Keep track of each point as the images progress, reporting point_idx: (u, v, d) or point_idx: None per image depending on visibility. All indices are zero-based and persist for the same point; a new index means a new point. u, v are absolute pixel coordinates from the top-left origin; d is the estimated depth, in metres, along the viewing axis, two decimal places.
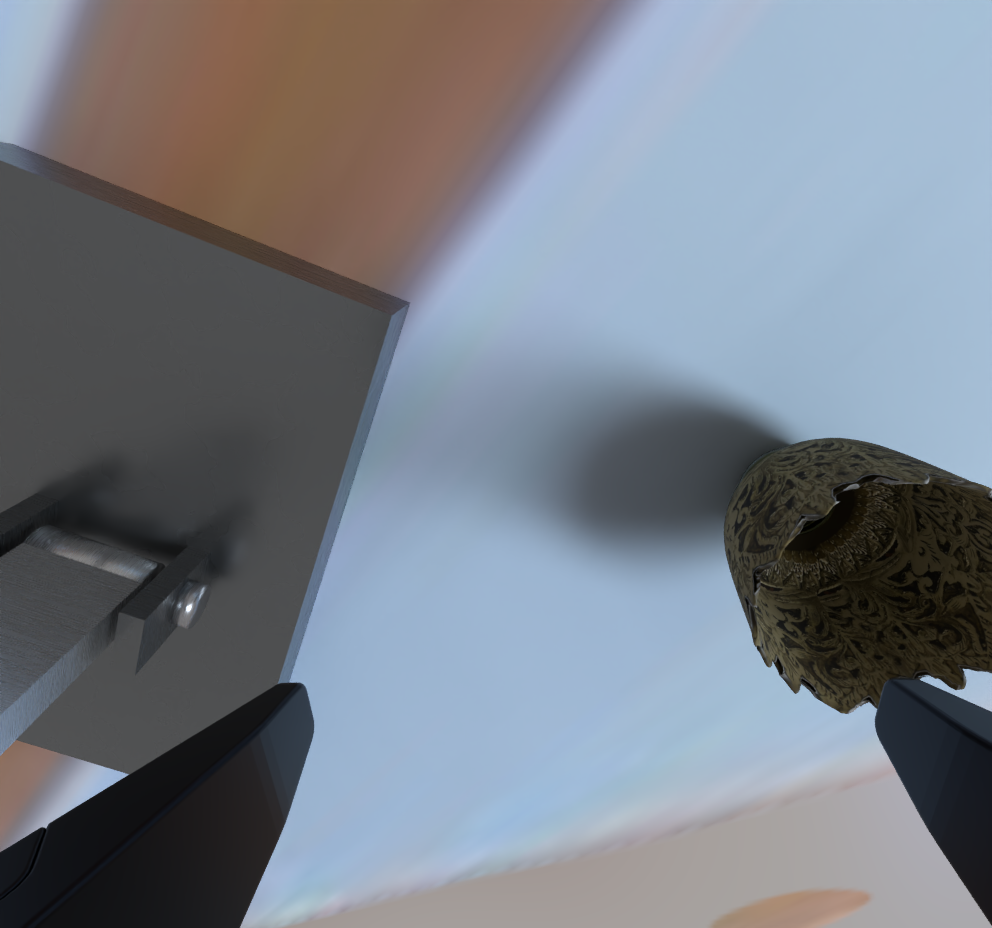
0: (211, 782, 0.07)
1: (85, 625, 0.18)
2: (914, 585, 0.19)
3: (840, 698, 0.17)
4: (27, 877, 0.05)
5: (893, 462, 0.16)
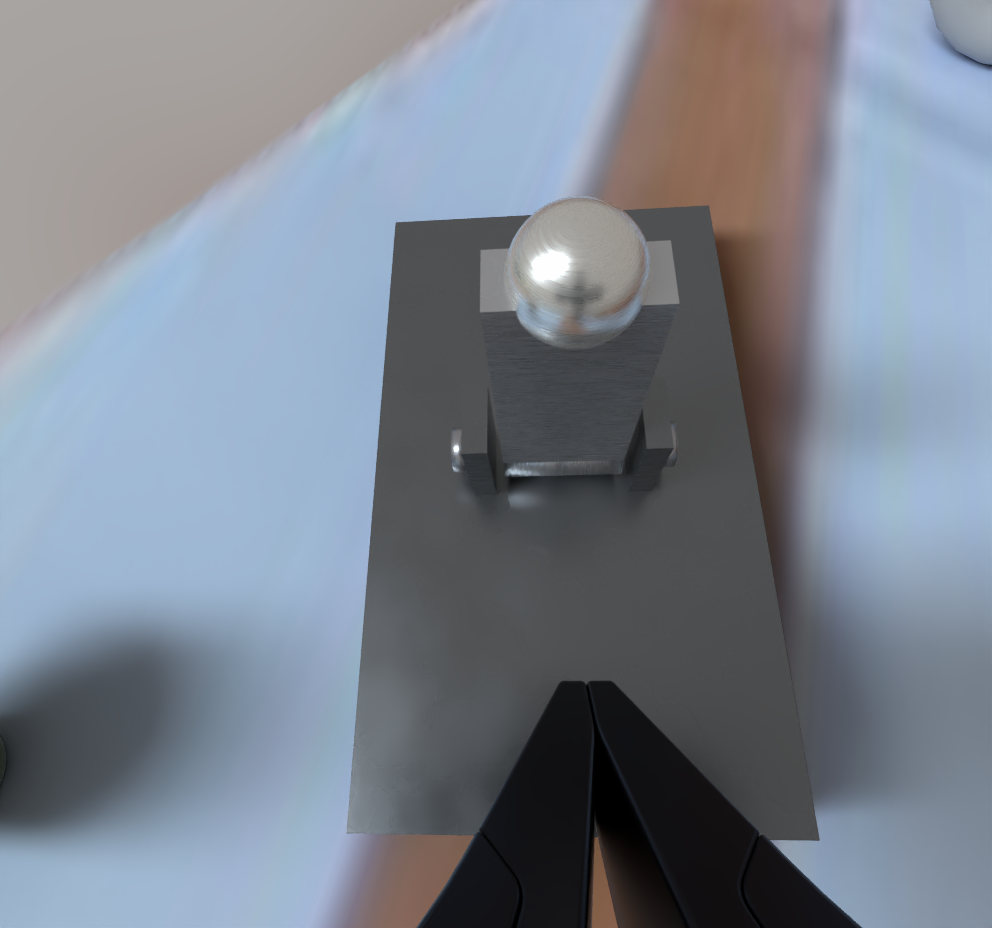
0: (594, 784, 0.06)
1: (506, 433, 0.17)
2: None
3: None
4: (518, 885, 0.05)
5: None
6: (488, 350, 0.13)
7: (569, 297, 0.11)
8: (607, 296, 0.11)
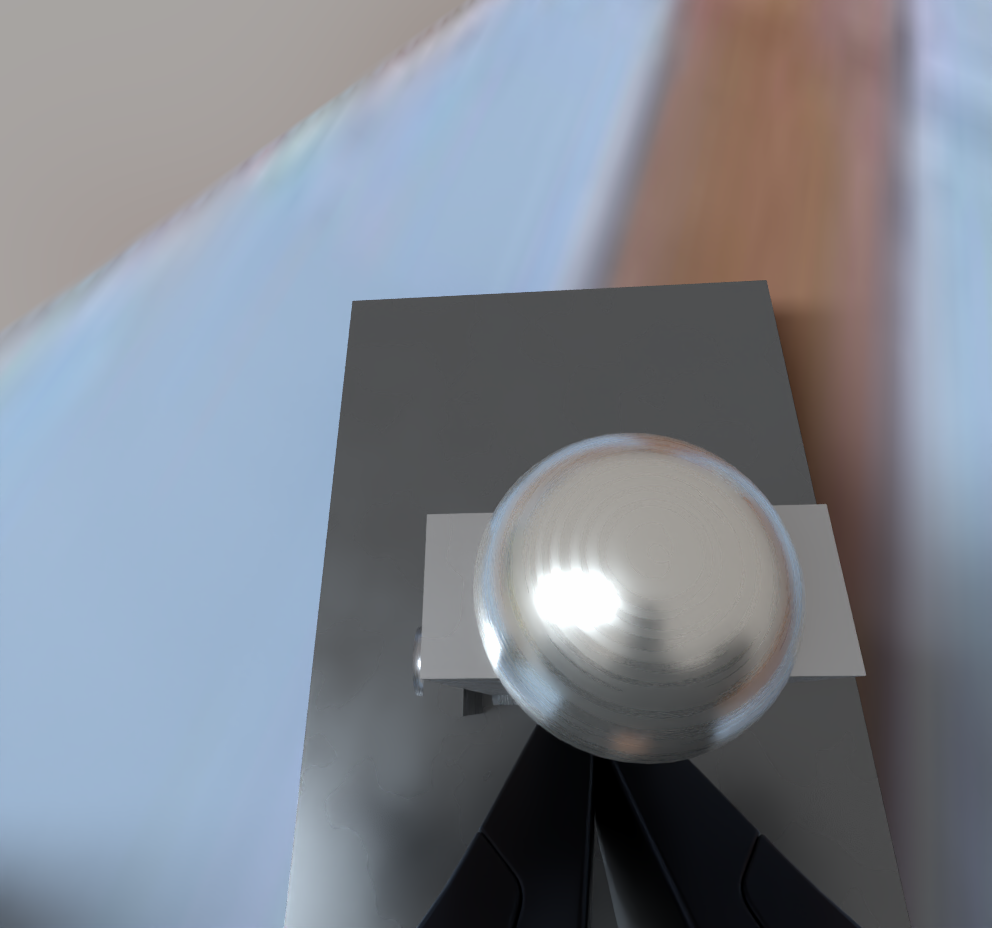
0: (594, 784, 0.06)
1: (493, 692, 0.11)
2: None
3: None
4: (517, 885, 0.05)
5: None
6: (448, 684, 0.07)
7: (626, 725, 0.04)
8: (720, 720, 0.04)
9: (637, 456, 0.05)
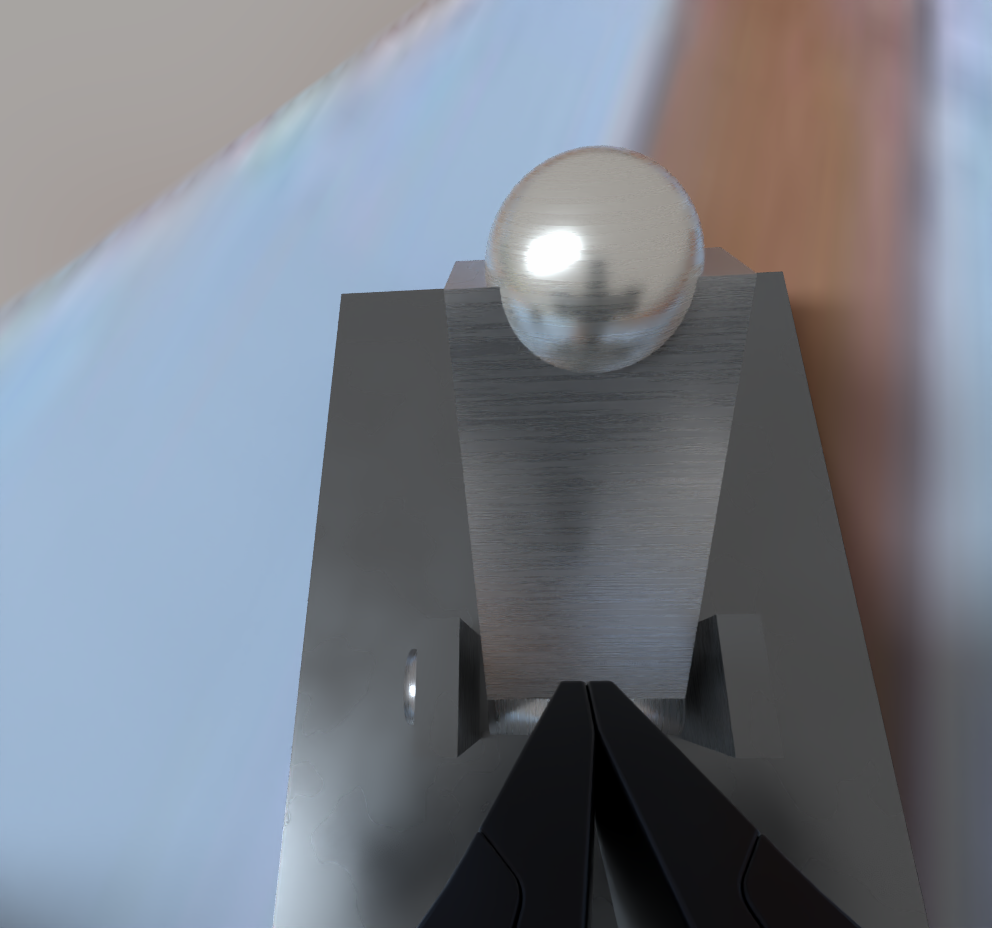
0: (594, 784, 0.06)
1: (490, 615, 0.11)
2: None
3: None
4: (518, 885, 0.05)
5: None
6: (458, 389, 0.08)
7: (582, 217, 0.07)
8: (643, 219, 0.07)
9: None
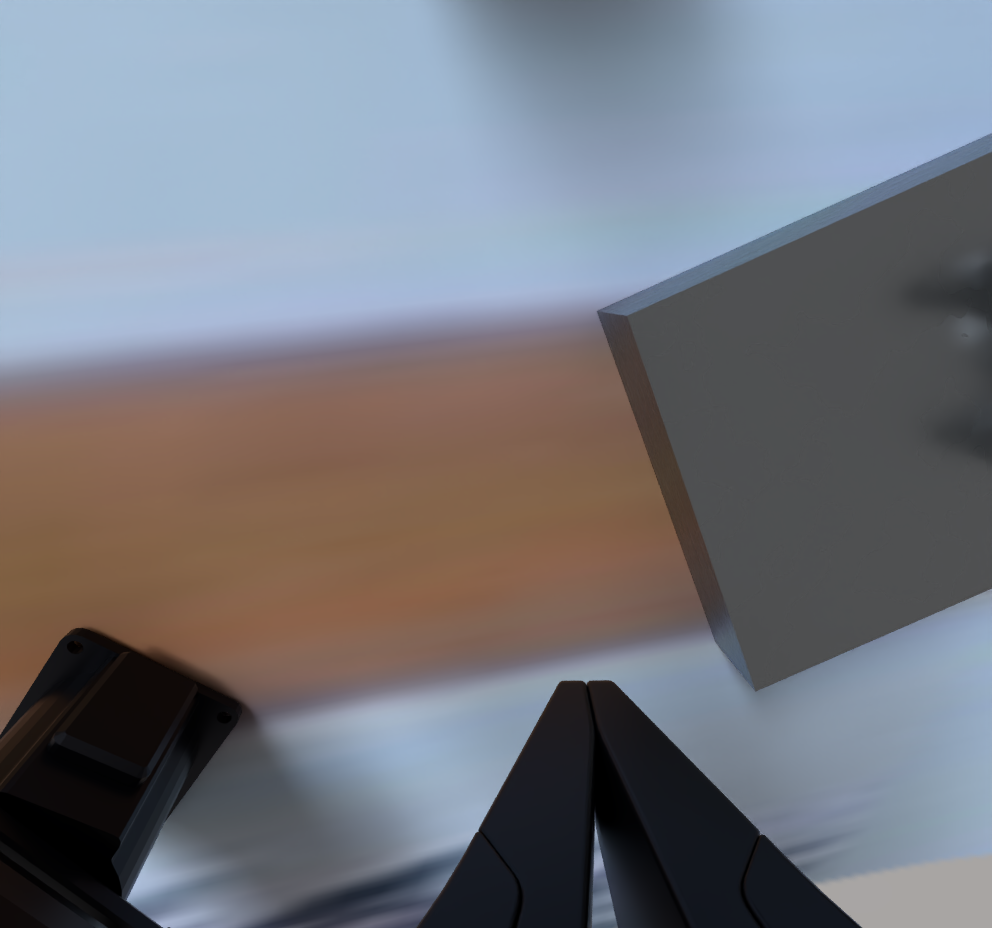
0: (594, 784, 0.06)
1: None
2: None
3: None
4: (518, 884, 0.05)
5: None
6: None
7: None
8: None
9: None
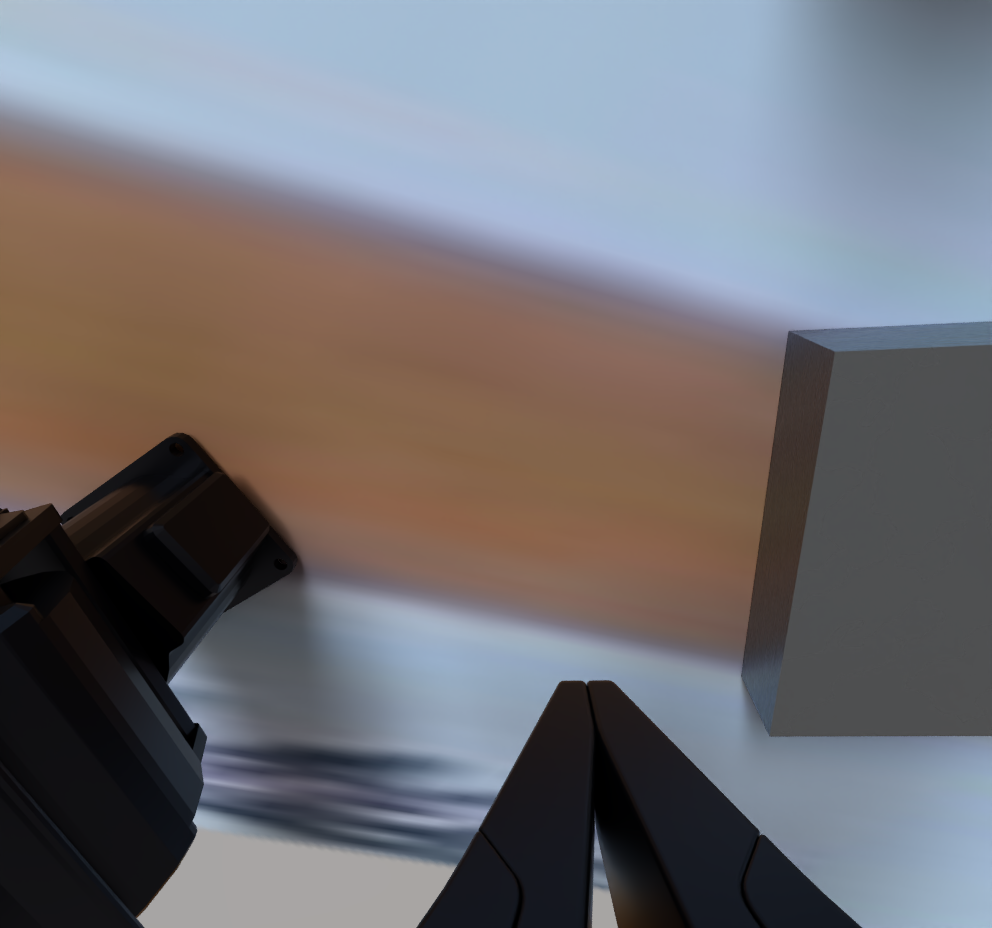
0: (593, 784, 0.06)
1: None
2: None
3: None
4: (518, 885, 0.05)
5: None
6: None
7: None
8: None
9: None
